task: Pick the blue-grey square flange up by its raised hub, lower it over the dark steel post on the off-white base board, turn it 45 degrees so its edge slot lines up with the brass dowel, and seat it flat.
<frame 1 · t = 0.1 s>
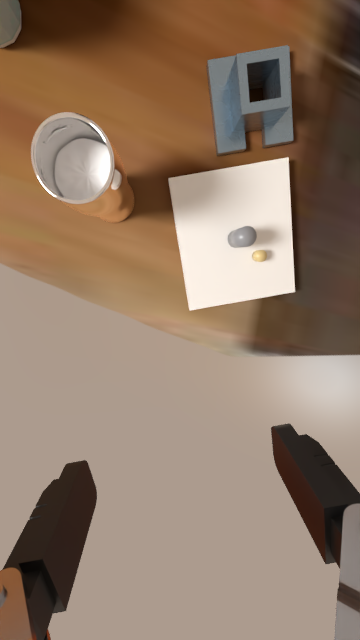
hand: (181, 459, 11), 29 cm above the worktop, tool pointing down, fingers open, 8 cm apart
flange: (249, 106, 33), on the worktop
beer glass: (112, 199, 35), on the worktop
post base: (233, 239, 37), on the worktop
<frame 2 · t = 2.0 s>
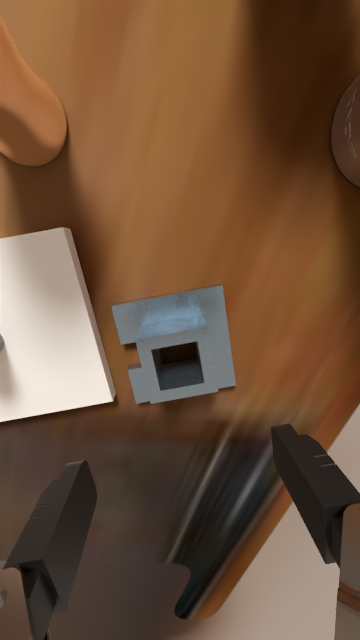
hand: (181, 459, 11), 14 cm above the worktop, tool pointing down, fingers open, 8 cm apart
flange: (176, 344, 24), on the worktop
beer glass: (28, 123, 19), on the worktop
post base: (0, 335, 24), on the worktop
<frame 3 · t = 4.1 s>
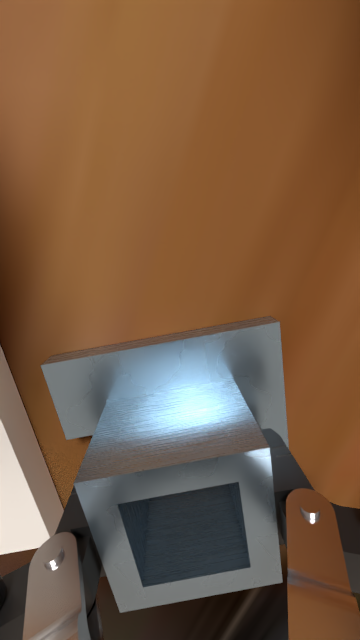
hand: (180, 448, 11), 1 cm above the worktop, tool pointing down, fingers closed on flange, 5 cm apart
flange: (179, 428, 13), on the worktop, touching gripper
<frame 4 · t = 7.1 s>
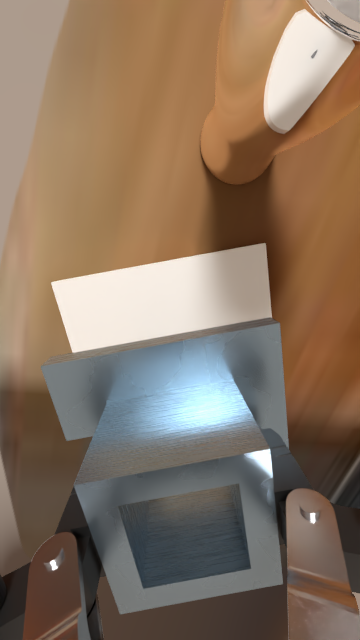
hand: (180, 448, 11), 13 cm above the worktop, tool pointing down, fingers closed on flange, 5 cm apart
flange: (180, 429, 13), point 12 cm above the worktop, touching gripper
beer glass: (237, 144, 20), on the worktop
post base: (175, 345, 24), on the worktop
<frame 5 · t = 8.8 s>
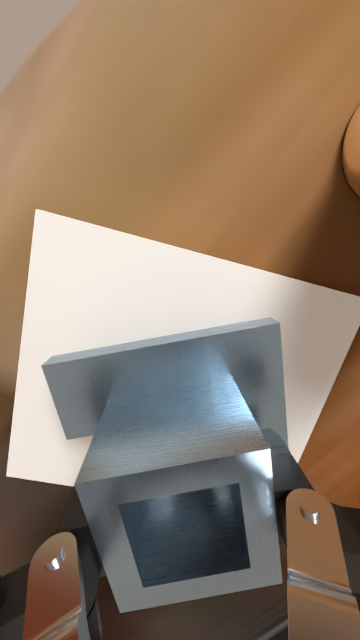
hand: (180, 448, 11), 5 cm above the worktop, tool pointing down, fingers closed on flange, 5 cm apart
flange: (180, 429, 13), point 4 cm above the worktop, touching gripper
post base: (176, 380, 16), on the worktop
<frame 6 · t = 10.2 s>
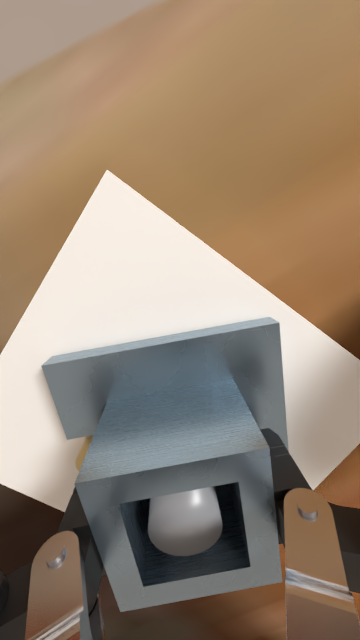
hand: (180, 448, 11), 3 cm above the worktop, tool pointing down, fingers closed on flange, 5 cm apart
flange: (180, 429, 13), point 2 cm above the worktop, touching gripper
post base: (177, 408, 14), on the worktop
when the fingers open (3 cm above the worktop, at t = 10.4 s): flange stays where it is, resting on post base.
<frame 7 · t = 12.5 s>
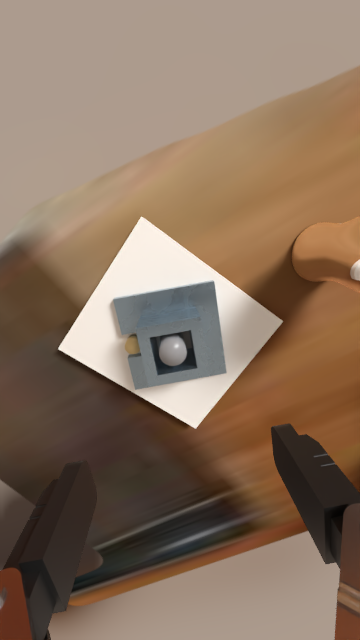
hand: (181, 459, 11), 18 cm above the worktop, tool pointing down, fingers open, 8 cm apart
flange: (172, 335, 27), point 1 cm above the worktop, touching post base
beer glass: (317, 252, 27), on the worktop
post base: (171, 330, 28), on the worktop
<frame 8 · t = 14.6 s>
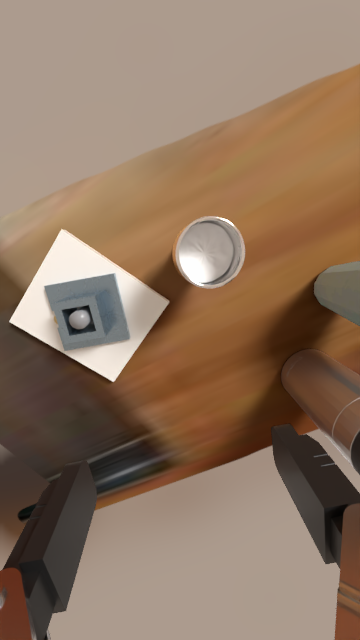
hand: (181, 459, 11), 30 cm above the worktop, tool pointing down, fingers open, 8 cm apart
flange: (90, 312, 38), point 1 cm above the worktop, touching post base
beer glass: (193, 253, 38), on the worktop
disposable coffee cup: (332, 284, 40), on the worktop
post base: (92, 309, 39), on the worktop
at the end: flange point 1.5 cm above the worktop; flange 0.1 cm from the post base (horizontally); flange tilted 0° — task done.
